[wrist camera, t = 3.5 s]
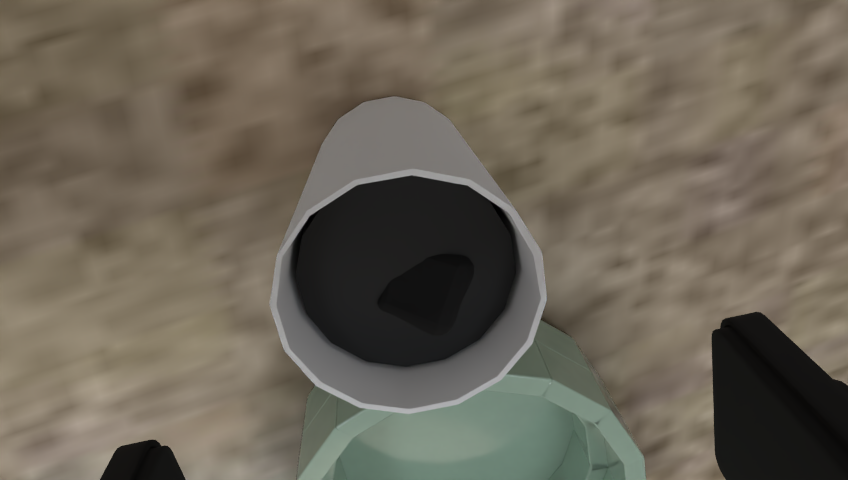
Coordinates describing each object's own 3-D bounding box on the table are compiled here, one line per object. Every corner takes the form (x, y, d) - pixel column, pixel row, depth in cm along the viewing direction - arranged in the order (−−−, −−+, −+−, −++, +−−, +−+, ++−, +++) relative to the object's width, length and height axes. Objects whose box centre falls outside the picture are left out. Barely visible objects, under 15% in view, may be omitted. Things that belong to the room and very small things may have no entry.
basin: (264, 335, 27) (242, 423, 22) (584, 264, 27) (634, 336, 22) (346, 560, 33) (343, 670, 28) (612, 502, 33) (656, 602, 28)
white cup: (510, 126, 24) (597, 230, 15) (437, 274, 27) (475, 442, 18) (343, 53, 23) (328, 122, 14) (280, 217, 25) (232, 369, 16)
